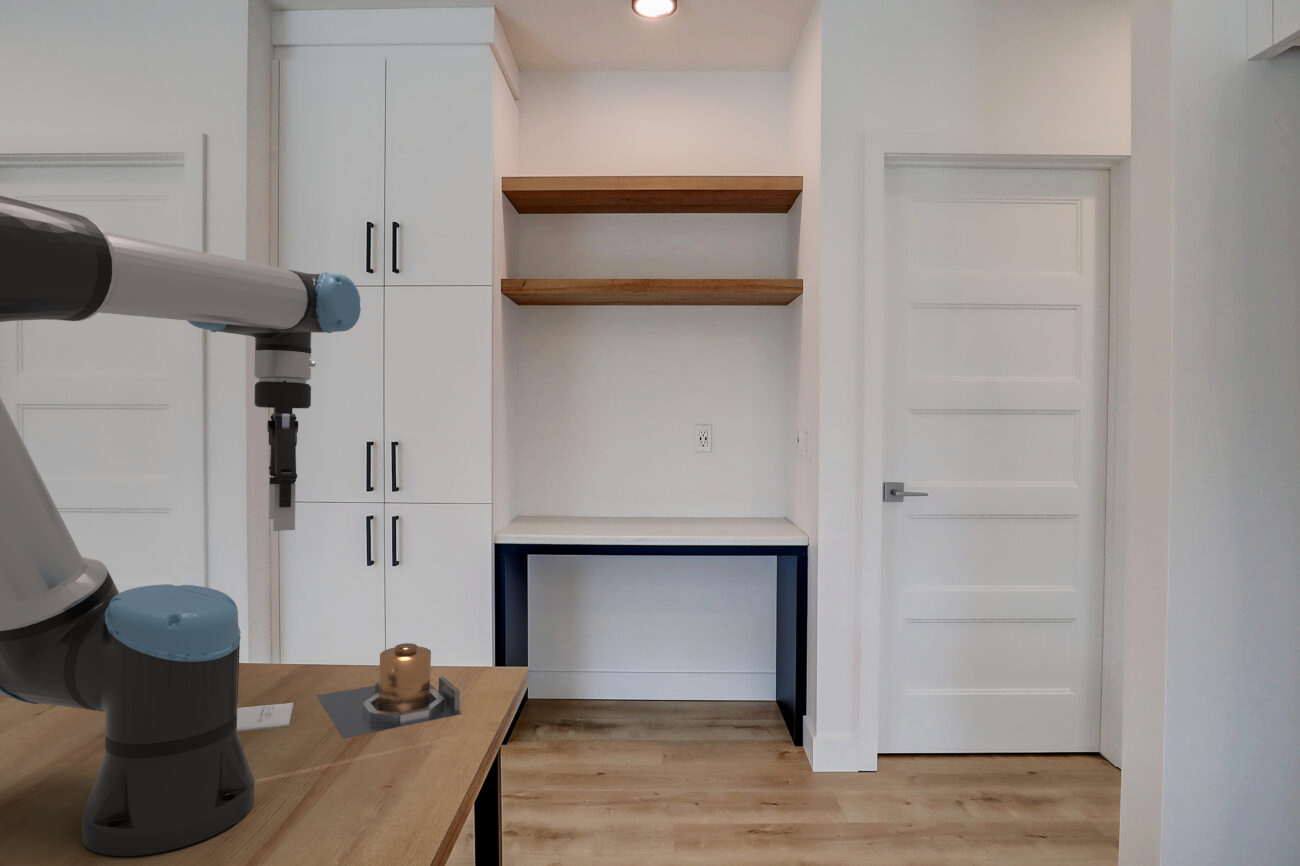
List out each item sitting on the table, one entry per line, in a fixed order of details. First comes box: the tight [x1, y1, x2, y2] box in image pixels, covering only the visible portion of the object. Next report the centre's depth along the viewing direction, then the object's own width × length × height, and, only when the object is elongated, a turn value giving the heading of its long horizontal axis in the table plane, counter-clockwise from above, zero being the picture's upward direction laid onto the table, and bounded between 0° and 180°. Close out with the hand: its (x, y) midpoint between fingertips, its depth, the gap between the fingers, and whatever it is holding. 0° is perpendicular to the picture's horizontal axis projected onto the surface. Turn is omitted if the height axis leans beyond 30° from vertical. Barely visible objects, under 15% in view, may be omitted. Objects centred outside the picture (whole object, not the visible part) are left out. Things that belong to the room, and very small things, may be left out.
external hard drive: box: [237, 702, 295, 733], centre depth 102 cm, size 2×8×12 cm
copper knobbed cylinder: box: [378, 642, 432, 713], centre depth 107 cm, size 7×7×9 cm
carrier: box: [316, 668, 463, 739], centre depth 109 cm, size 18×16×4 cm
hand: (281, 524), depth 111 cm, fingers open, 13 cm apart
